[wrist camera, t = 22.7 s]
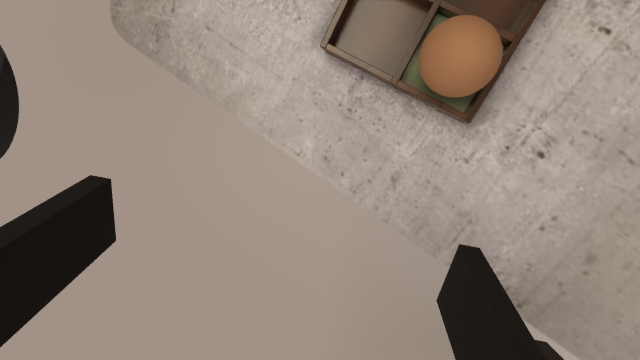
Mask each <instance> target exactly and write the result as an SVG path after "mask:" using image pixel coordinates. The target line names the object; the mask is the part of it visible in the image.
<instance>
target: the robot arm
mask: <svg viewBox="0 0 640 360" xmlns="http://www.w3.org/2000/svg"><path fill="white" fill-rule="evenodd" d="M115 241H116V234H115V222H114V211H113V199H112V188H111V179H108V178H103V177H97V176H92V175H90V176H88V177H86V178H85V179H83V180H81V181H80V182H78V183H76V184H74V185H73V186H71V187H69V188H68V189H66V190H64V191H62V192H60V193H59V194H57V195H55V196H54V197H52V198H50V199H48V200H47V201H45V202H43V203H41V204H40V205H38V206H36V207H34V208H33V209H31V210H29V211H28V212H26V213H24V214H23V215H21V216H19V217H18V218H16V219H14V220H12V221H10V222H8V223H7V224H5V225H3V226H2V227H0V347H1V346H2V345H3V344H4V343H6V342H7V341H8V340H9V339H10V338H11V337H12V336H13V335H14V334H15V333H16V332H17V331H19V330H20V329H21V328H22V327H23V326H24V325H25V324H26V323H27V322H28V321H29V320H31V319H32V318H33V317H34V316H35V315H36V314H37V313H38V312H39V311H40V310H41V309H42V308H43V307H45V306H46V305H47V304H48V303H49V302H50V301H51V300H52V299H53V298H54V297H55V296H56V295H58V293H60V292H61V291H62V290H63V289H64V288H65V287H66V286H67V285H68V284H69V283H71V282H72V281H73V280H74V279H75V278H76V277H77V276H78V275H79V274H80V273H81V272H83V271H84V270H85V268H87V267H88V266H89V265H90V264H91V263H92V262H93V261H94V260H95V259H97V258H98V257H99V256H100V255H101V254H102V253H103V252H104V251H105V250H106V249H107V248H109V247H110V246H111V245H112V244H113V243H114V242H115ZM437 303H438V306H439V309H440V312H441V316H442V319H443V322H444V325H445V328H446V331H447V334H448V337H449V340H450V343H451V347H452V350H453V353H454V356H455V359H456V360H564V359H563V358H562V357H561V356H560V355H559V354H558V353H557V352H556V351H555V350H554V349H553V348H552V347H551V346H550V345H549V344H548V343H547V342H543V341H538V340H534V339H533V337H532V335H531V334H530V332H529V330H528V329H527V327H526V325H525V324H524V322H523V320H522V319H521V317H520V315H519V313H518V312H517V310H516V308H515V307H514V305H513V303H512V302H511V300H510V298H509V297H508V295H507V293H506V292H505V290H504V288H503V287H502V285H501V283H500V282H499V280H498V278H497V276H496V275H495V273H494V271H493V270H492V268H491V266H490V265H489V263H488V261H487V260H486V258H485V256H484V255H483V253H482V251H481V250H480V248H477V247H471V246H466V245H461V244H459V246H458V249H457V251H456V254H455V256H454V259H453V261H452V264H451V266H450V269H449V271H448V273H447V276H446V278H445V281H444V283H443V286H442V288H441V291H440V293H439V296H438V298H437Z"/></svg>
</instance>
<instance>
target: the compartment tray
mask: <svg viewBox="0 0 640 360" xmlns="http://www.w3.org/2000/svg"><path fill="white" fill-rule="evenodd" d="M545 1H546V0H341V2H340V4H339V7H338V9H337V11H336V13H335V15H334V17H333V19H332V21H331V23H330V25H329V28H328V30H327V32H326V34H325V36H324V38H323V40H322V42H321V44H320V47H321V48H322V49H323V50H324V51H325V52H327V53H329V54H331V55H333V56H335V57H337V58H339V59H341V60H343V61H345V62H347V63H349V64H351V65H352V66H354V67H356V68H358V69H360V70H362V71H364V72H366V73H368V74H370V75H372V76H374V77H376V78H378V79H380V80H381V81H383V82H385V83H387V84H389V85H391V86H393V87H395V88H397V89H399V90H401V91H403V92H405V93H407V94H408V95H410V96H412V97H414V98H416V99H418V100H420V101H422V102H424V103H426V104H428V105H430V106H432V107H434V108H436V109H437V110H439V111H441V112H443V113H445V114H447V115H449V116H451V117H453V118H455V119H457V120H459V121H461V122H463V123H470V122H471V120H472V119H473V117H474V116H475V114H476V112H477V111H478V109H479V108H480V106H481V104H482V103H483V101H484V99H485V98H486V96H487V95H488V93H489V91H490V90H491V88H492V87H493V85H494V83H495V82H496V80H497V78H498V77H499V75H500V74H501V72H502V70H503V69H504V67H505V66H506V64H507V62H508V61H509V59H510V58H511V56H512V54H513V53H514V51H515V49H516V48H517V46H518V45H519V43H520V41H521V40H522V38H523V37H524V35H525V33H526V32H527V30H528V29H529V27H530V25H531V24H532V22H533V20H534V19H535V17H536V16H537V14H538V12H539V11H540V9H541V8H542V6H543V4H544V3H545ZM460 15H474V16H477V17H480V18H483V19H485V20H486V21H488V22H489V23H491V24H492V25H493V26H494V27H495V29H496V30H497V32H498V34H499V36H500V38H501V42H502V46H503V47H502V59H501V64H500V66H499V68H498V70H497V72H496V74H495V75H494V77H493V78H492V79H491V80H490V81H489V82H488V83H487V85H486V86H484V87H483V88H481V89H480V90H478V91H477V92H475V93H473V94H470V95H467V96H464V97H445V96H442V95H440V94H437V93H436V92H434V91H432V90H431V89H430V88H429V87H428V86H427V85H426V84H425V82H424V81H423V79H422V77H421V74H420V71H419V64H418V58H419V52H420V49H421V46H422V44H423V41H424V40H425V38H426V37H427V35H428V34H429V33H430V32H431V31H432V29H433V28H435V27H436V26H437V25H438V24H440V23H441V22H443V21H445V20H447V19H449V18H451V17H455V16H460Z"/></svg>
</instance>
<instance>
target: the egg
mask: <svg viewBox="0 0 640 360" xmlns="http://www.w3.org/2000/svg"><path fill="white" fill-rule="evenodd" d="M502 47H503V46H502V42H501V38H500V36H499V34H498V32H497V30H496V29H495V27H494V26H493V25H492V24H491V23H489V22H488V21H486V20H485V19H483V18H480V17H477V16H474V15H460V16H455V17H451V18H449V19H447V20H445V21H443V22H441V23H440V24H438V25H437V26H436V27H435V28H433V29H432V31H431V32H430V33H429V34H428V35H427V37H426V38H425V40H424V41H423V44H422V46H421V49H420V52H419V58H418V64H419V71H420V74H421V77H422V79H423V81H424V82H425V84H426V85H427V86H428V87H429V88H430V89H431V90H432V91H434V92H436V93H437V94H440V95H442V96H445V97H464V96H467V95H470V94H473V93H475V92H477V91H478V90H480V89H481V88H483V87H484V86H486V85H487V83H488V82H489V81H490V80H491V79H492V78H493V77H494V75H495V74H496V72H497V70H498V68H499V66H500V64H501V59H502Z"/></svg>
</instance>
